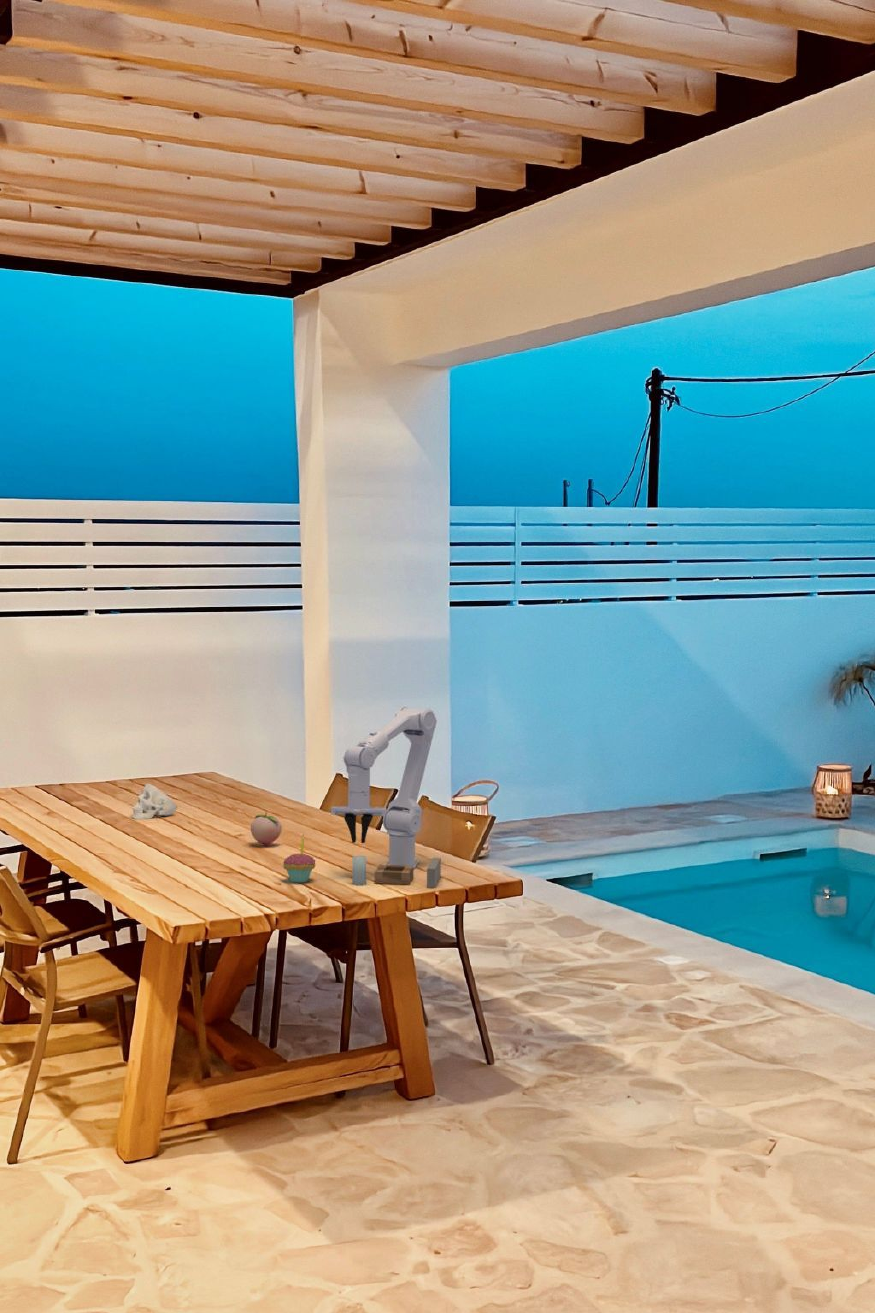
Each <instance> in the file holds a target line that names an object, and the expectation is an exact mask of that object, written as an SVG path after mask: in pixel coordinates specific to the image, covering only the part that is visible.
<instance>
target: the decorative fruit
mask: <svg viewBox="0 0 875 1313" xmlns="http://www.w3.org/2000/svg"><path fill="white" fill-rule="evenodd" d="M282 830H283V829H282V824H281V822H280V820H278V819H277V818H276V817H275V816H273V815H268V816H267V812H265V814H257V815H255V817H254V820H253V821H252V822H251V825H250V832H251V835H252V838H253V839H254V840H255V841H256V842H258V843H260V844H262V845H264V846H268V845H271V844H272V843H273V842H275V841H276V840H277V839H278V838H279V837H280V836H281V834H282Z"/></svg>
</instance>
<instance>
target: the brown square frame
mask: <svg viewBox="0 0 875 1313" xmlns="http://www.w3.org/2000/svg"><path fill="white" fill-rule="evenodd" d="M414 870H415V869H414V866H405V865H387V864H379V865H378V867H377V868H376V869H375V871H374V884H384V885H385V884H388V885H410V883H411V882H412V880H413V878H414Z"/></svg>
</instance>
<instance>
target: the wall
mask: <svg viewBox="0 0 875 1313" xmlns="http://www.w3.org/2000/svg"><path fill="white" fill-rule="evenodd" d="M441 860H442V858H441V857H433V858H431V861H430V863H429V865H428V866H427V868H426V888H427V889H435V888H436V886H437V885H436V884H438V882H439V881H440V878H441V876H442V875H441V873H442V872H441V871H442V869H441V868H442V863H441V862H442V861H441Z"/></svg>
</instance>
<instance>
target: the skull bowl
mask: <svg viewBox="0 0 875 1313" xmlns="http://www.w3.org/2000/svg"><path fill="white" fill-rule="evenodd" d="M178 808H179V806H178V804H176V802H175V801H173V799H172V798H170V797H169V796H168V795H167V794H166V793H164V792H163V791H162V790H160V788H157V787H156V786H154V785H152V783H146V784H145V785H144V787H143V789H142V790H141V793H140V794H139V795H137V800H136V803H135V804H134V805H133V807H131V809H132V812H133V814H132V816H131V818H132V819H134V820H148V819H149V820H150V819H152V818H153V817H154V815H157V816H160V817H161V816H162V817H167V816H171V815H173V813H175V812H176V811H177V809H178Z"/></svg>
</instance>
